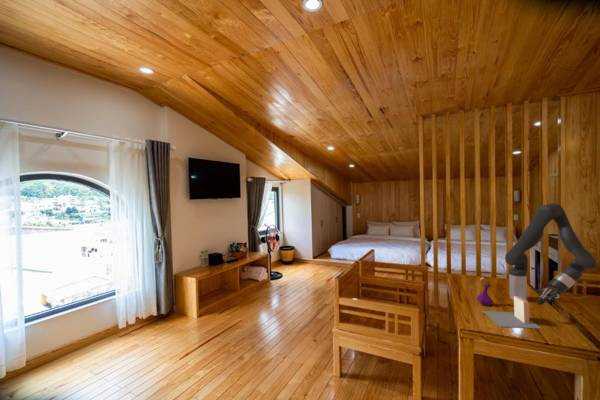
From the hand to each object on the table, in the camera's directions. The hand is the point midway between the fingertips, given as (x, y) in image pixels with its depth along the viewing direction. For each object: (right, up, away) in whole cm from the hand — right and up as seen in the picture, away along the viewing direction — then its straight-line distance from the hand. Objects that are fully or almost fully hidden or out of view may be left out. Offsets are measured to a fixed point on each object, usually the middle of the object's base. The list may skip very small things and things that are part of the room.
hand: (537, 303), depth 150 cm
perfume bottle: (-12, -11, +26) cm, 30 cm away
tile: (-8, -10, +2) cm, 13 cm away
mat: (-14, -11, +3) cm, 18 cm away
